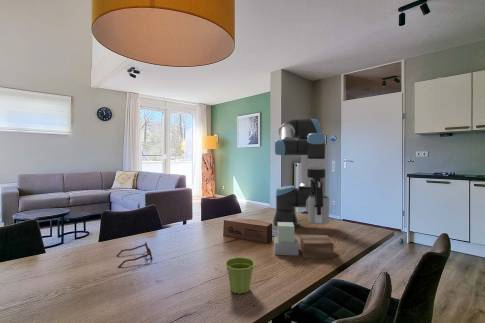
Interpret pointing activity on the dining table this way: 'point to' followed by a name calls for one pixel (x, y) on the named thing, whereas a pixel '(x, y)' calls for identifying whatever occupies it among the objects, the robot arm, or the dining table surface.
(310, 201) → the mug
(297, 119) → the robot arm
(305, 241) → the walnut plinth
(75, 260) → the dining table surface
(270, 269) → the dining table surface
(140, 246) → the glasses
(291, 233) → the sage cube
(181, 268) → the dining table surface
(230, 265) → the plant pot
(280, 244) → the slate block
